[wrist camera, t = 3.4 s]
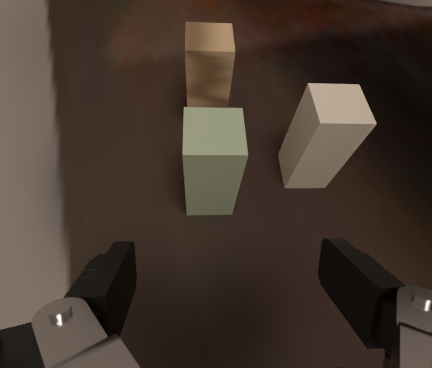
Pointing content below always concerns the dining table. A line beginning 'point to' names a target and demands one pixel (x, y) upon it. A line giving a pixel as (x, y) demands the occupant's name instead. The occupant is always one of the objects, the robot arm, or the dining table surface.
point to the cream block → (324, 134)
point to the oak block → (209, 64)
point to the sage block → (213, 159)
